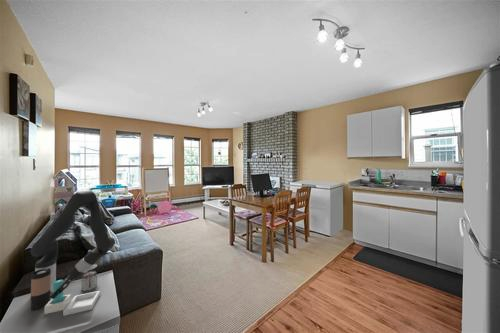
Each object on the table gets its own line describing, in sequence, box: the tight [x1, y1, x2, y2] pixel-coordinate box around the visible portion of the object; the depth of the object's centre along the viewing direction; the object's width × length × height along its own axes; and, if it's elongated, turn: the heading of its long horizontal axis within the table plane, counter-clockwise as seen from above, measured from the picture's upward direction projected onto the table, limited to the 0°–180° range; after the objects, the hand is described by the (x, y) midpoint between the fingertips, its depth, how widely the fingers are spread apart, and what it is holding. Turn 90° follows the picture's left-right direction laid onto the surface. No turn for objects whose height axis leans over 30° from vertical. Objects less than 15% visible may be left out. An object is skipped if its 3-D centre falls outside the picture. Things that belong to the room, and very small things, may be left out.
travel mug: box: [30, 268, 51, 311], centre depth 109 cm, size 8×8×20 cm
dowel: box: [52, 279, 64, 304], centre depth 108 cm, size 4×4×14 cm
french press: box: [80, 249, 98, 292], centre depth 126 cm, size 10×12×25 cm
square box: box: [44, 293, 72, 315], centre depth 107 cm, size 8×8×5 cm
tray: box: [62, 290, 101, 317], centre depth 109 cm, size 12×14×4 cm
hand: (53, 295), depth 107 cm, fingers closed on dowel, 4 cm apart
